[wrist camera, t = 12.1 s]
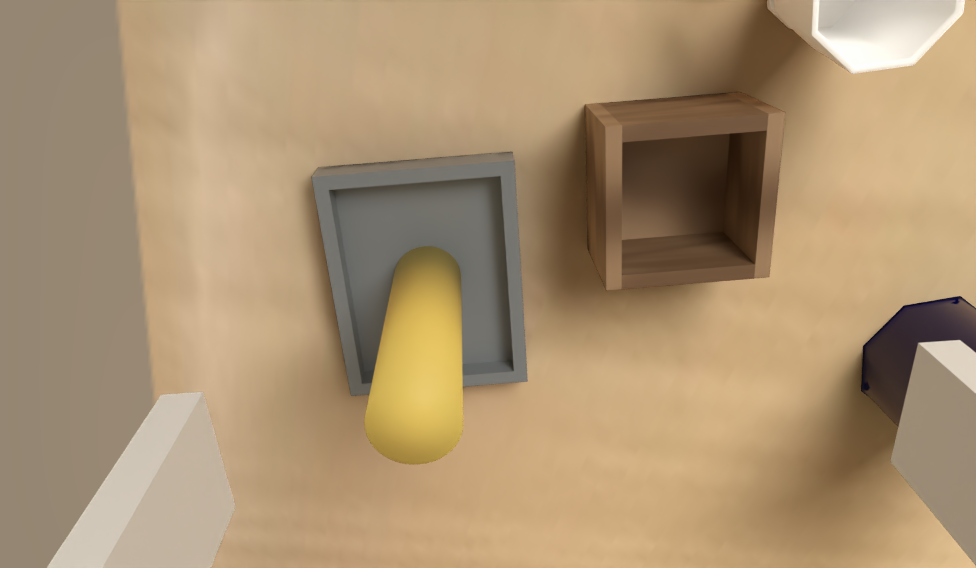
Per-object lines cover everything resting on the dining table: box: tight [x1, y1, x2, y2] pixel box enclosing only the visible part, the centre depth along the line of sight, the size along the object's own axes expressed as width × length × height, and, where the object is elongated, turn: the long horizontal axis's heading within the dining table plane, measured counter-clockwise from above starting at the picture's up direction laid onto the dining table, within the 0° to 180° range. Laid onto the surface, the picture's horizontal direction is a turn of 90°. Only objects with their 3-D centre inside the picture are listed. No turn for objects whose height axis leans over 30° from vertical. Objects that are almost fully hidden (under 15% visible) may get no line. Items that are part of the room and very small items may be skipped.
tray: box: [312, 152, 528, 396], centre depth 42 cm, size 14×11×2 cm
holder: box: [585, 92, 785, 291], centre depth 38 cm, size 9×9×6 cm
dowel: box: [364, 246, 463, 464], centre depth 36 cm, size 4×4×15 cm
